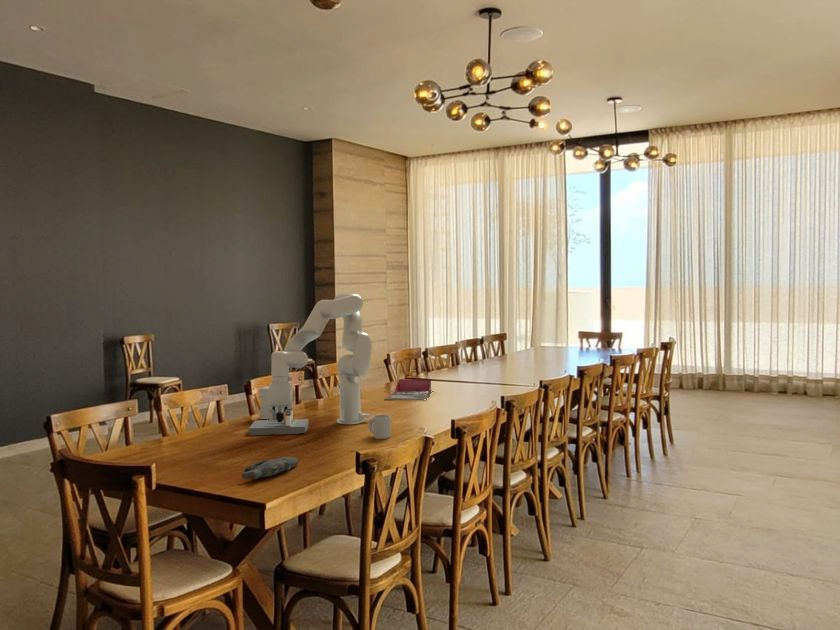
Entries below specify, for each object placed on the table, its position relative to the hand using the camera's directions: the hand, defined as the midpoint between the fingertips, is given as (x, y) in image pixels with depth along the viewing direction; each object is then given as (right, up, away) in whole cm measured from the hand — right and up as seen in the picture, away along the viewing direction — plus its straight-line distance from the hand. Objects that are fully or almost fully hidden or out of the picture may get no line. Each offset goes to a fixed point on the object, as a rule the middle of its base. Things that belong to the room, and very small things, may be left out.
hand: (280, 421), depth 304 cm
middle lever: (+2, -1, +7) cm, 7 cm away
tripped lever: (+4, -2, +1) cm, 4 cm away
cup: (+44, -5, -9) cm, 45 cm away
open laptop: (+56, -1, +97) cm, 112 cm away
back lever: (+2, -1, +13) cm, 13 cm away
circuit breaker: (-8, -4, +34) cm, 35 cm away
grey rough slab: (+8, -9, -63) cm, 64 cm away
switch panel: (-1, -5, +6) cm, 8 cm away
